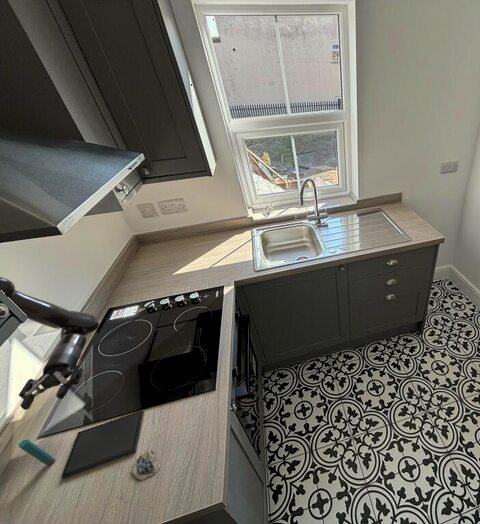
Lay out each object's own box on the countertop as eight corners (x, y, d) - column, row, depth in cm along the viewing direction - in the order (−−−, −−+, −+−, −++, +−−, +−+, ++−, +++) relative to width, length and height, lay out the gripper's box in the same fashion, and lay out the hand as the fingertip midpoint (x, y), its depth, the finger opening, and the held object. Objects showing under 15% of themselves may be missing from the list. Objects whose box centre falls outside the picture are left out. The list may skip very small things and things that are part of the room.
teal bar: (45, 467, 84) (16, 448, 77) (48, 460, 85) (20, 440, 78) (54, 464, 84) (25, 445, 77) (57, 457, 86) (29, 437, 79)
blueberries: (147, 448, 86) (144, 445, 85) (168, 457, 84) (165, 454, 83) (126, 474, 81) (123, 471, 80) (148, 484, 79) (145, 481, 78)
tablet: (63, 479, 81) (60, 477, 80) (79, 433, 91) (77, 432, 90) (136, 451, 86) (134, 450, 85) (144, 411, 96) (142, 409, 95)
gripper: (30, 360, 95) (3, 405, 82) (82, 346, 99) (63, 386, 86) (45, 374, 99) (21, 418, 87) (94, 360, 103) (77, 400, 91)
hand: (42, 402), depth 87 cm, fingers open, 8 cm apart
